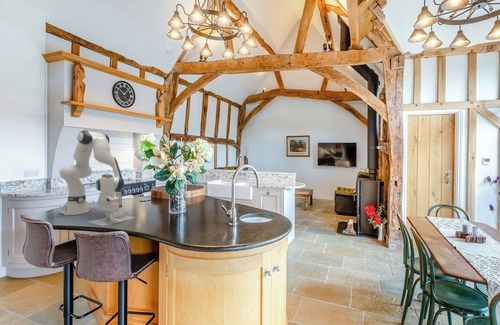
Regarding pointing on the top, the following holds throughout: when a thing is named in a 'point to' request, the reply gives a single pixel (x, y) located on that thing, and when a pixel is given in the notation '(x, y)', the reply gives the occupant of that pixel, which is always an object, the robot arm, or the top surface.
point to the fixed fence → (119, 212)
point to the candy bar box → (119, 199)
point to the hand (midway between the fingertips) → (107, 216)
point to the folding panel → (111, 217)
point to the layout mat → (107, 220)
